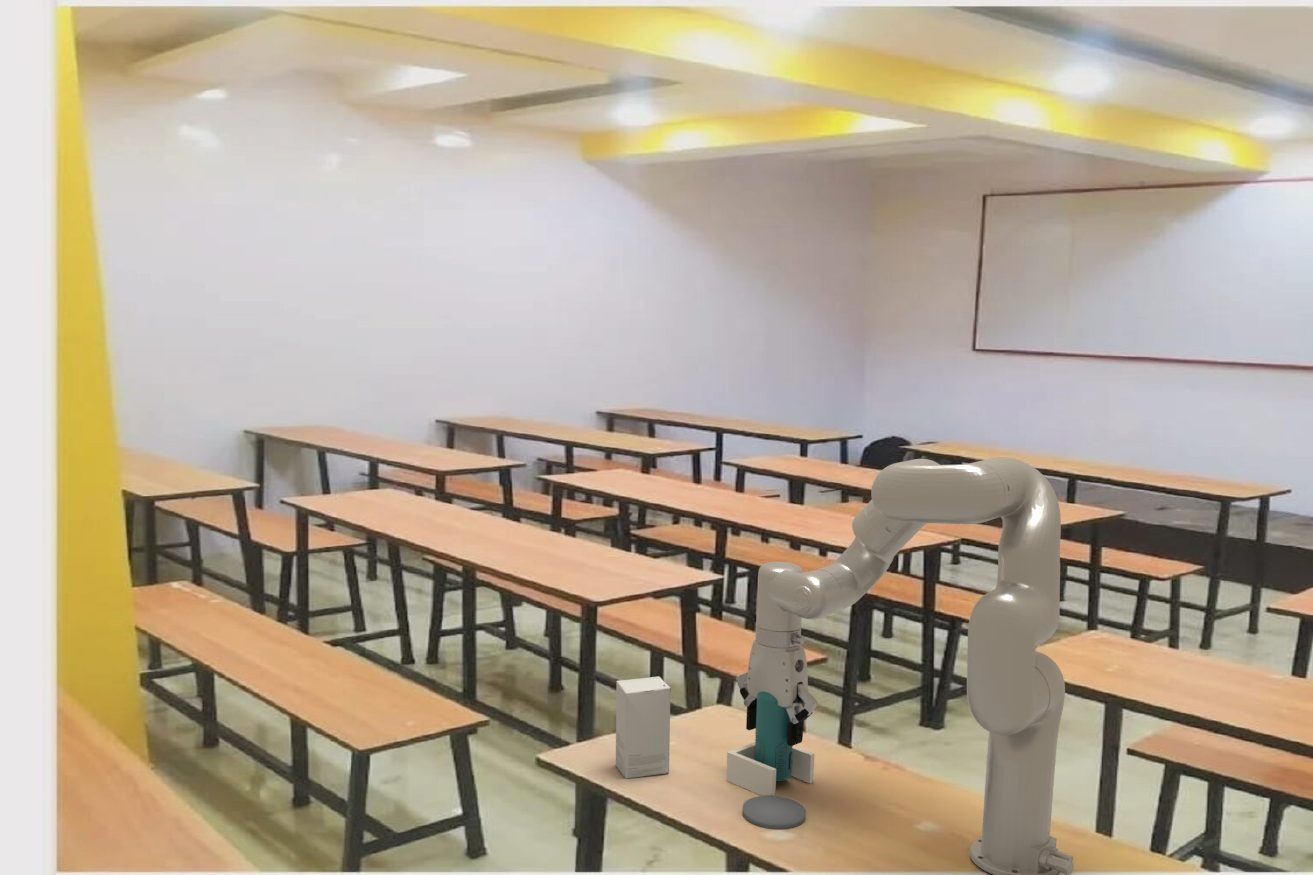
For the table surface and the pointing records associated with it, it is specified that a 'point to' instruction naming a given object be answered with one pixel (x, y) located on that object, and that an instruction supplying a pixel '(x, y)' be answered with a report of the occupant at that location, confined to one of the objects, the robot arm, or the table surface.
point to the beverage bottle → (772, 736)
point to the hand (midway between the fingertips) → (773, 735)
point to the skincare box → (642, 727)
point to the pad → (774, 812)
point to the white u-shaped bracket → (765, 769)
